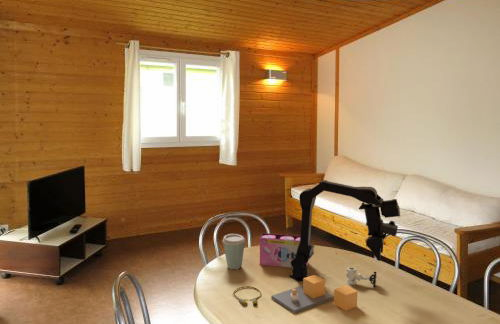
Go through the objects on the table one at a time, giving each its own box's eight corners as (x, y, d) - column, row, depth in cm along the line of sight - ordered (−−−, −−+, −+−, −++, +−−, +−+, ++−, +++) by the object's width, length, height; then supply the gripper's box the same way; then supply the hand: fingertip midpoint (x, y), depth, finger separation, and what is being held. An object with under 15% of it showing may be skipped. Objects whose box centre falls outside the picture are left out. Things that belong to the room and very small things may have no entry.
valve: (345, 285, 167) (375, 290, 163) (345, 270, 166) (375, 274, 162) (347, 279, 173) (376, 283, 169) (347, 265, 172) (376, 268, 168)
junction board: (271, 298, 156) (271, 281, 155) (309, 286, 167) (310, 269, 166) (294, 313, 144) (294, 294, 143) (333, 299, 155) (334, 281, 154)
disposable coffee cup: (249, 265, 189) (249, 235, 187) (237, 273, 180) (236, 241, 178) (231, 261, 194) (231, 231, 192) (218, 268, 185) (217, 237, 183)
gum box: (311, 263, 191) (311, 236, 190) (309, 269, 184) (309, 241, 182) (263, 259, 198) (263, 232, 196) (259, 264, 190) (259, 237, 188)
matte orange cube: (333, 304, 151) (334, 289, 150) (345, 300, 154) (345, 285, 153) (345, 310, 146) (346, 295, 145) (357, 306, 149) (357, 291, 148)
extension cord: (225, 304, 152) (225, 299, 152) (238, 287, 167) (238, 282, 167) (256, 309, 149) (256, 304, 148) (266, 291, 164) (266, 286, 163)
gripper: (392, 222, 147) (400, 263, 148) (396, 211, 164) (402, 247, 165) (362, 225, 152) (369, 265, 152) (368, 213, 169) (375, 249, 169)
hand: (380, 256), depth 160 cm, fingers open, 9 cm apart
